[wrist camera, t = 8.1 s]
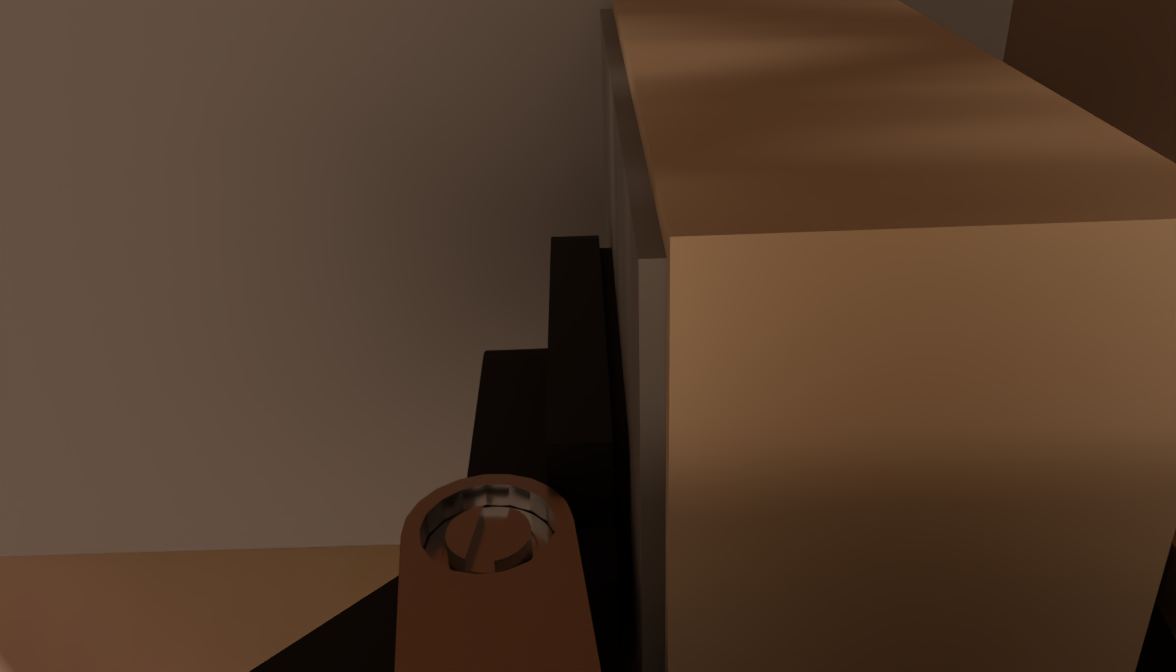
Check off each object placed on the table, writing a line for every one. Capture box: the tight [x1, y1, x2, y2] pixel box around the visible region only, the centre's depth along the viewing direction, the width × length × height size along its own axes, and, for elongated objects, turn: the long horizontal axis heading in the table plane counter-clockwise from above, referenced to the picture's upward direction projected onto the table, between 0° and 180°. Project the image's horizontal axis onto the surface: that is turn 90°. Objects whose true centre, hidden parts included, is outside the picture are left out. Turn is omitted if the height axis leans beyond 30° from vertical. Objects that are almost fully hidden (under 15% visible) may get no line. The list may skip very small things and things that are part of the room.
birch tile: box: [600, 0, 1176, 672], centre depth 10 cm, size 3×7×8 cm, turn 2°
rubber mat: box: [0, 0, 1014, 556], centre depth 16 cm, size 18×14×1 cm
